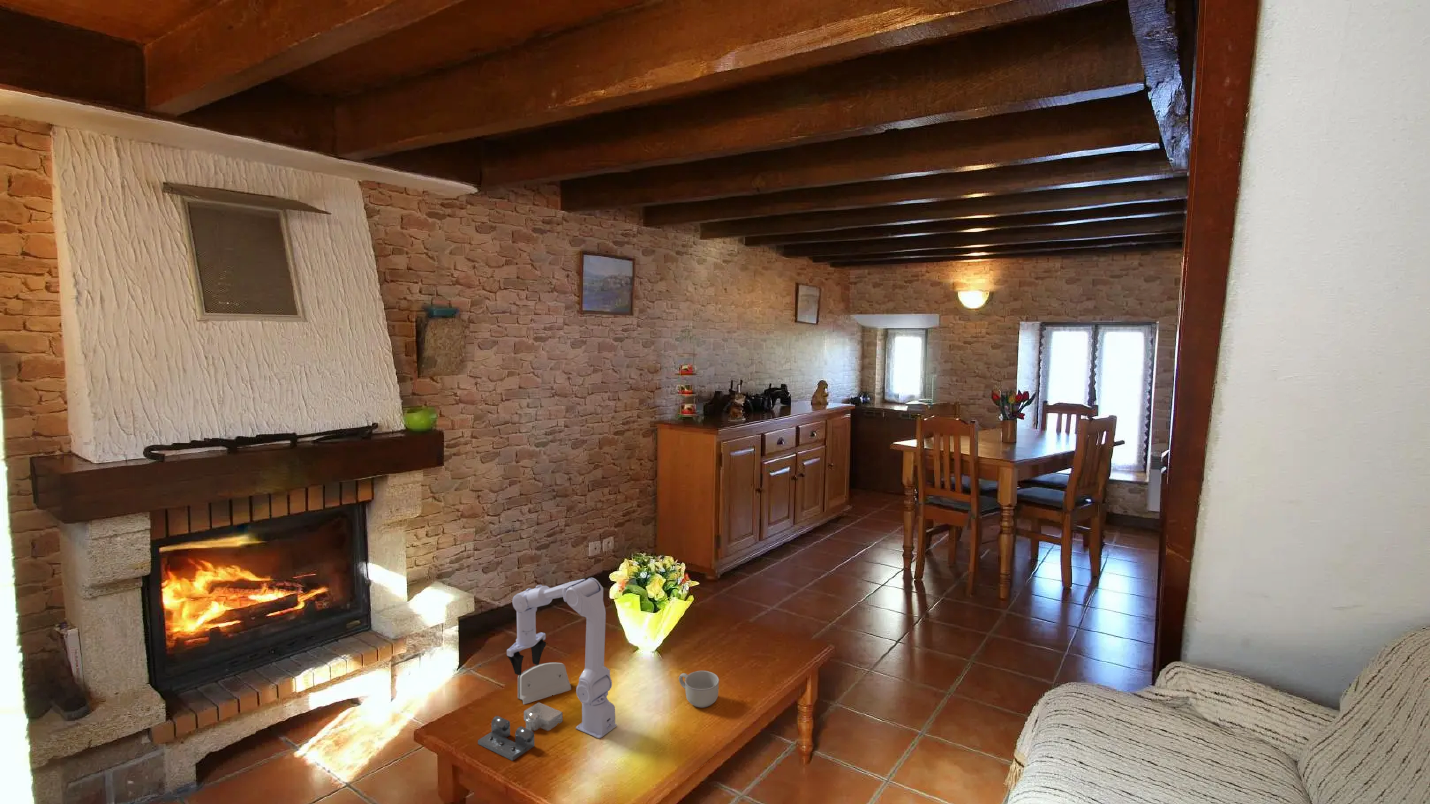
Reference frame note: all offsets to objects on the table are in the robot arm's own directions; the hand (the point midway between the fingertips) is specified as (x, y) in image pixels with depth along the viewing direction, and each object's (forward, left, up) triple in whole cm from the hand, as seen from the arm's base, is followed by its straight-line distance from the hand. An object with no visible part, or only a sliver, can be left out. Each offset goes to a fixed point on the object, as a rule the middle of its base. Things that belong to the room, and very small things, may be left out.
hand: (527, 668), depth 223 cm
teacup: (-46, -29, -10) cm, 55 cm away
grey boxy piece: (-13, +8, -10) cm, 18 cm away
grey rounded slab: (-1, -6, -10) cm, 12 cm away
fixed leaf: (-13, +20, -10) cm, 26 cm away
